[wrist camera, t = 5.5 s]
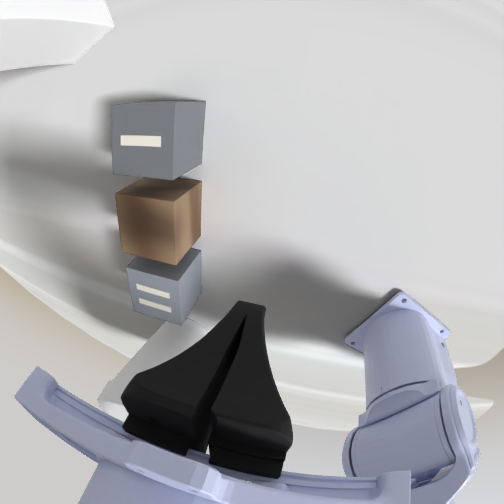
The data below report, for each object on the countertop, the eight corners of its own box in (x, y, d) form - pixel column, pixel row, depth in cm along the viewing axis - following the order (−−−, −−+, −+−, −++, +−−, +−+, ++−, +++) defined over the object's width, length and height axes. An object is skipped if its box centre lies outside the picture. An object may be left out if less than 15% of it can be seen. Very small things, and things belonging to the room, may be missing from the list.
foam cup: (213, 370, 34) (178, 455, 23) (150, 340, 34) (103, 417, 24) (234, 329, 29) (192, 435, 18) (157, 293, 29) (92, 383, 18)
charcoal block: (206, 101, 19) (174, 102, 14) (202, 163, 21) (172, 180, 17) (148, 101, 19) (109, 105, 15) (147, 158, 22) (110, 174, 18)
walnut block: (202, 180, 22) (173, 201, 18) (200, 235, 25) (176, 265, 20) (149, 174, 23) (115, 193, 18) (152, 225, 25) (122, 252, 21)
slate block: (201, 250, 25) (177, 282, 21) (201, 292, 28) (181, 326, 24) (152, 239, 26) (123, 267, 22) (156, 280, 29) (132, 310, 24)
